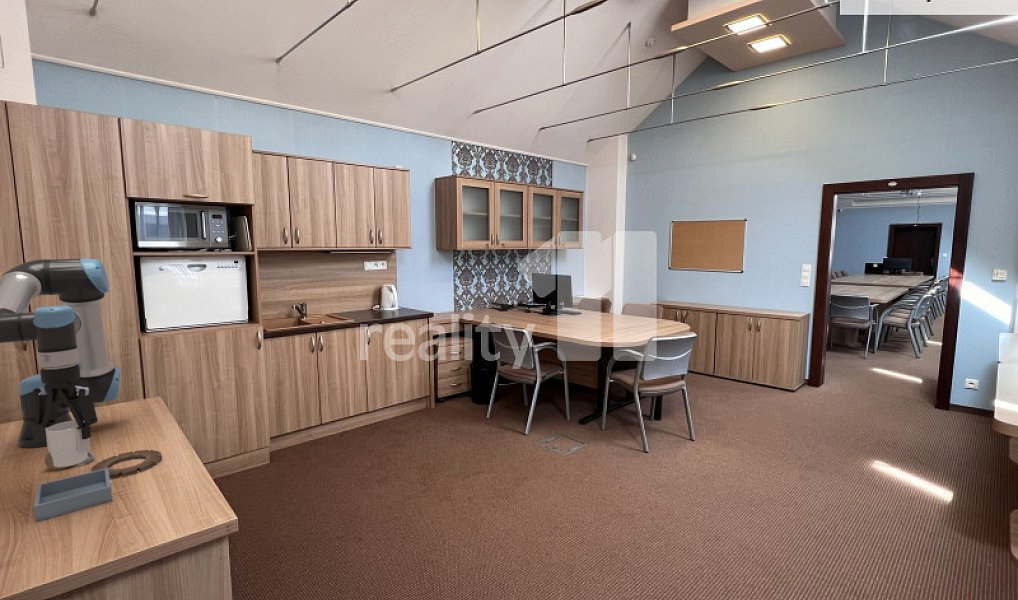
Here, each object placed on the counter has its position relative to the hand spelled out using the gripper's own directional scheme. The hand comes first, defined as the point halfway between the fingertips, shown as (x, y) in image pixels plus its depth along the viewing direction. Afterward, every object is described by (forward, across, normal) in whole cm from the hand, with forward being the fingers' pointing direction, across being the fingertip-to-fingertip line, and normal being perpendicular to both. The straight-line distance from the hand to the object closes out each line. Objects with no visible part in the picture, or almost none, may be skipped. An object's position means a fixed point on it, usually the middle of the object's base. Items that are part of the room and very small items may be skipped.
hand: (69, 450), depth 127 cm
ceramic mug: (+14, -22, +20) cm, 33 cm away
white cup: (+3, 0, 0) cm, 3 cm away
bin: (+14, 0, 0) cm, 14 cm away
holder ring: (+14, -3, +20) cm, 25 cm away
